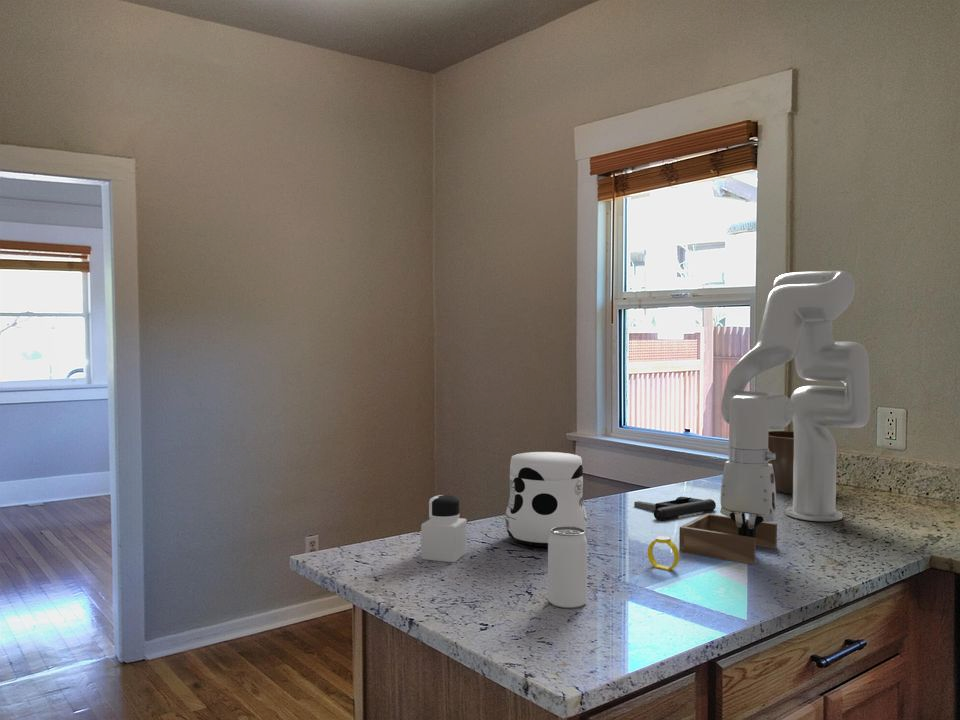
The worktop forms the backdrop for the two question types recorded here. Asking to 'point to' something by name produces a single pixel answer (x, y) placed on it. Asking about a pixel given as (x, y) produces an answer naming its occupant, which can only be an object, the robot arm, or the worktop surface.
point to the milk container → (544, 496)
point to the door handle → (677, 507)
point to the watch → (676, 553)
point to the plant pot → (782, 459)
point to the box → (724, 538)
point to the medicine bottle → (444, 531)
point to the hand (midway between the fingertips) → (746, 546)
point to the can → (567, 567)
